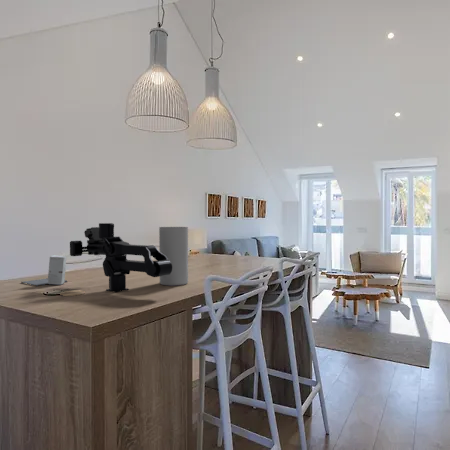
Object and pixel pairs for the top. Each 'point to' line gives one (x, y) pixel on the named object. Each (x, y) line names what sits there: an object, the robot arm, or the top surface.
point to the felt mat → (38, 282)
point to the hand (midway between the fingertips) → (80, 246)
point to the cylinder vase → (175, 254)
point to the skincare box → (56, 269)
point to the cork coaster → (72, 293)
